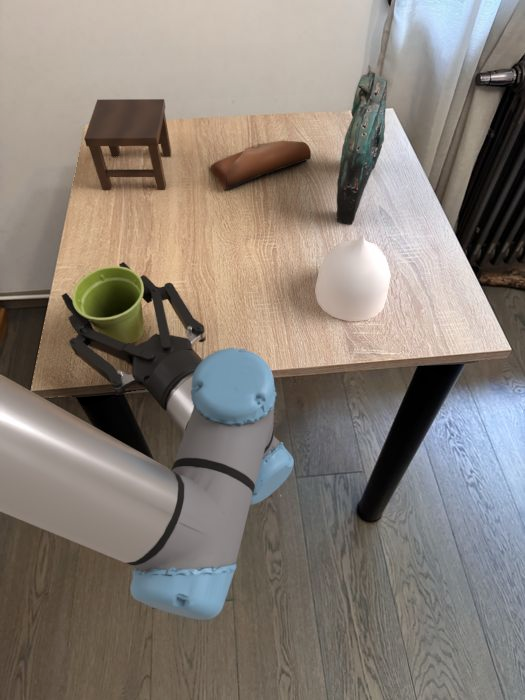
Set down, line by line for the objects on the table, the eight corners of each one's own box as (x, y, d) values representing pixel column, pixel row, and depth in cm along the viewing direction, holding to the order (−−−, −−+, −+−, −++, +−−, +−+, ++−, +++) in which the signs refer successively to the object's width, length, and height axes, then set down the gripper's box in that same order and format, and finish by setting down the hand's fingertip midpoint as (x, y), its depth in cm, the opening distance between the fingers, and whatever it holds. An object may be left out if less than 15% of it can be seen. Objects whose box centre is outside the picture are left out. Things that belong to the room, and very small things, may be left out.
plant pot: (81, 353, 72) (60, 314, 65) (103, 302, 77) (86, 262, 70) (144, 361, 71) (131, 323, 64) (162, 309, 77) (151, 269, 69)
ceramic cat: (346, 156, 98) (363, 46, 82) (380, 161, 97) (403, 51, 81) (326, 223, 87) (340, 112, 71) (363, 230, 86) (386, 119, 70)
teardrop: (311, 317, 76) (318, 260, 66) (317, 264, 82) (324, 204, 72) (386, 325, 75) (405, 268, 65) (386, 271, 81) (403, 211, 71)
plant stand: (100, 191, 93) (84, 138, 84) (111, 151, 99) (97, 99, 91) (166, 190, 93) (156, 138, 84) (172, 151, 99) (164, 98, 91)
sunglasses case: (287, 138, 101) (298, 119, 94) (303, 170, 101) (315, 153, 94) (206, 166, 96) (212, 148, 89) (222, 200, 96) (229, 184, 89)
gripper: (121, 456, 61) (36, 339, 71) (257, 361, 68) (162, 268, 78) (105, 429, 55) (14, 305, 65) (256, 327, 62) (154, 231, 72)
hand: (95, 284), depth 71 cm, fingers closed on plant pot, 8 cm apart
